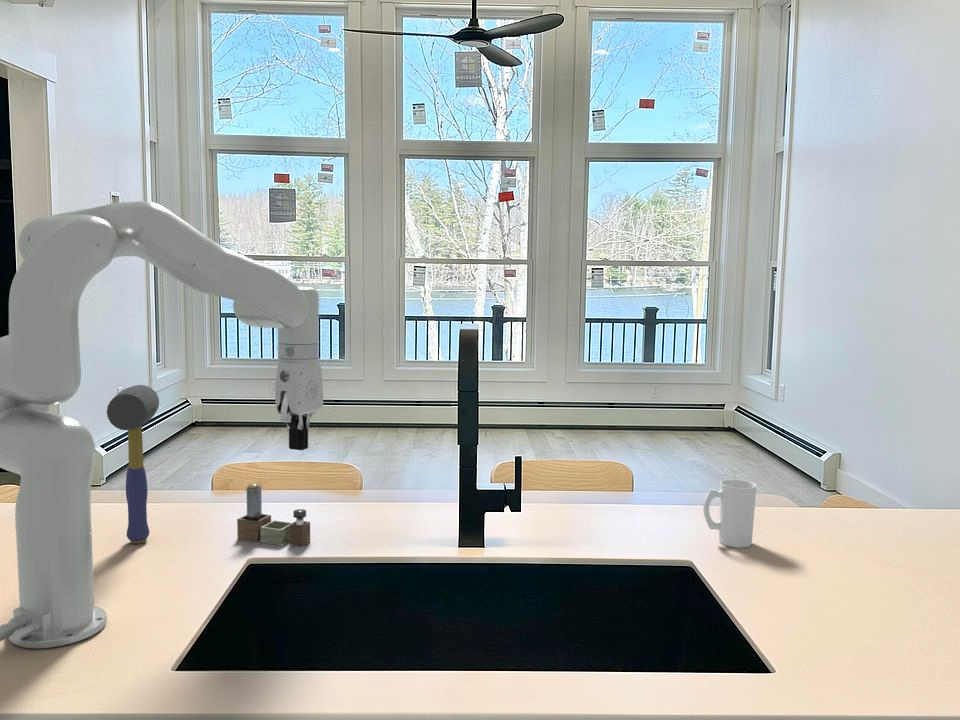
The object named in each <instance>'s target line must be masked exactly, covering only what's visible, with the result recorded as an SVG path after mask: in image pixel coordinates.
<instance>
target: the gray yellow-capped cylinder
mask: <svg viewBox="0 0 960 720" xmlns="http://www.w3.org/2000/svg"><path fill="white" fill-rule="evenodd" d="M245 489H246V515H247V520H253V521H258V520H260V519H262V514H263V513H262V510H263V509H262V508H263V507H262V486H261V485H260V483H258V482H251V483H249V484H248V486H246V488H245Z"/></svg>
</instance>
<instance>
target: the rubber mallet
mask: <svg viewBox="0 0 960 720" xmlns="http://www.w3.org/2000/svg"><path fill="white" fill-rule="evenodd" d="M159 405H160V398H159V396H158V393H157V392H156V391H155V390H154V389H153V388H151V387H150V386H147V385H143V384H138V385H137V384H136V385H133V386H129V387H127V388H124V389H123V390H120V391H119V392H117V394H116V395H115V396H114V397H113V398H112V399H111V400H110V401H109V403H108V405H107V407H106V416H107V419H108V420H109V423H111V425H112V426H113V427H114V428H117V429H119V430H120V431H127V446H128V468H127V470H126V477H125V478H126V479H125V496H126V503H127V514H128V515H127V517H128V519H127V521H128V523H127V529H126V538H127V539H128V541H130V543H131V544H141V543H145V542H146V541H148V540H147V539H148V538H149V536H150V528H149V524H148V515H147V514H148V513H147V506H148V505H147V503H148V501H147V500H148V493H149V492H148V480H147V474H146V469H145V467H144V447H143V425H145V424H147V423H148V422H149V421H150V420H151V419H152V418H153V417H154V415H155V414H156V413H157V411H158V409H159V407H160V406H159Z"/></svg>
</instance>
